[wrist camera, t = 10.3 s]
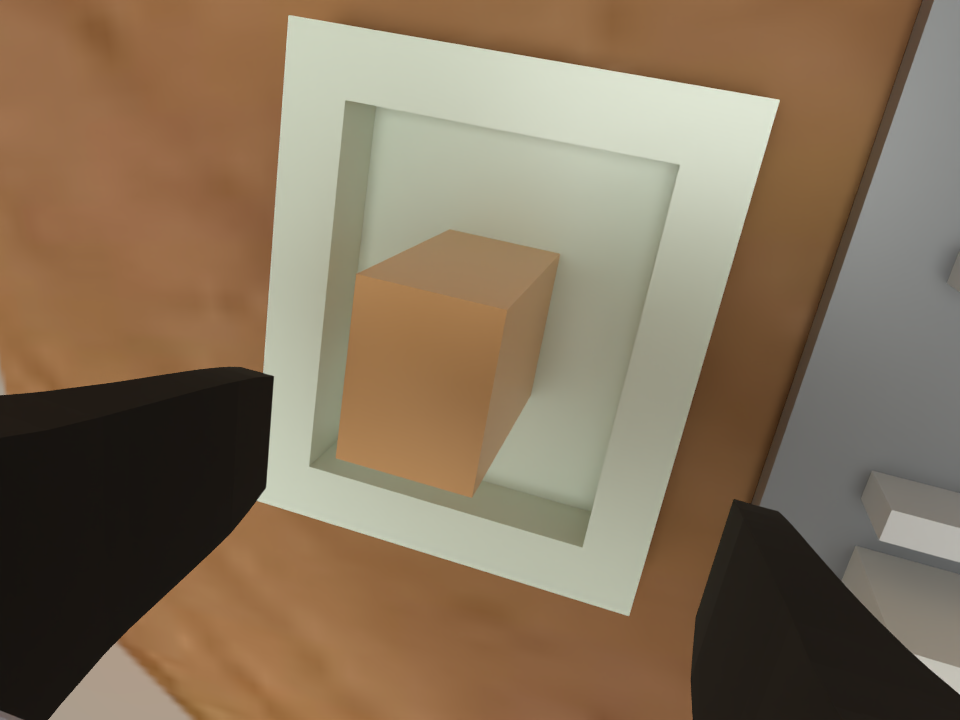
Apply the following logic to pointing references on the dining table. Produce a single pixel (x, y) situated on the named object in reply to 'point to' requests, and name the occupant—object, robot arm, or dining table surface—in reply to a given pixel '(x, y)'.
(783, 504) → the block
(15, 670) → the robot arm
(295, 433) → the tray
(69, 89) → the dining table surface
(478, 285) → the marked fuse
